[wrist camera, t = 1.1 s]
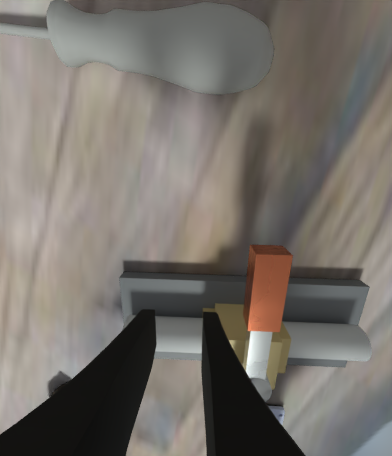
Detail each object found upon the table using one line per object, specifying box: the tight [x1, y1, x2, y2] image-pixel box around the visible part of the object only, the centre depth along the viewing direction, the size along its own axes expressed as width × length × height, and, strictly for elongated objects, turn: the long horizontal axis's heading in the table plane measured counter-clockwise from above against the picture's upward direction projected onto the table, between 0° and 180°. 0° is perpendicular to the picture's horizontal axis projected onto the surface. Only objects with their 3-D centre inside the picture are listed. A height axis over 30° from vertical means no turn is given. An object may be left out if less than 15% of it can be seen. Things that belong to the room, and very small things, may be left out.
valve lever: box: [243, 245, 293, 402], centre depth 13 cm, size 12×3×2 cm, turn 179°
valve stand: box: [119, 272, 372, 390], centre depth 18 cm, size 10×24×6 cm, turn 89°
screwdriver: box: [0, 0, 274, 95], centre depth 14 cm, size 5×25×4 cm, turn 81°
